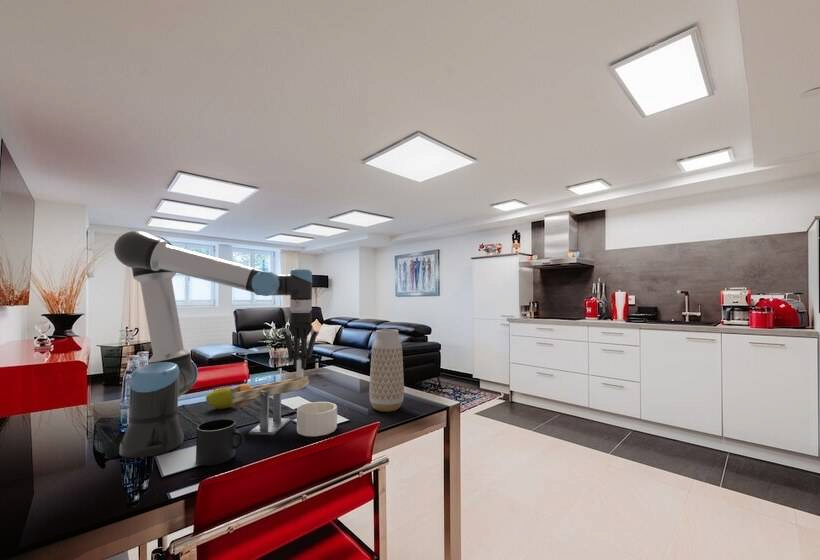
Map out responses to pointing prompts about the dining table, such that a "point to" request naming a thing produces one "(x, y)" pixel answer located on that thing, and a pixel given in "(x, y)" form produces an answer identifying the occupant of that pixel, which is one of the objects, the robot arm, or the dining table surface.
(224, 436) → the mug
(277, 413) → the stand
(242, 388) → the ball
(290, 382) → the lever
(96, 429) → the dining table surface
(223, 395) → the lemon
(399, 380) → the vase
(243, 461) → the dining table surface
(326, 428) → the pot
